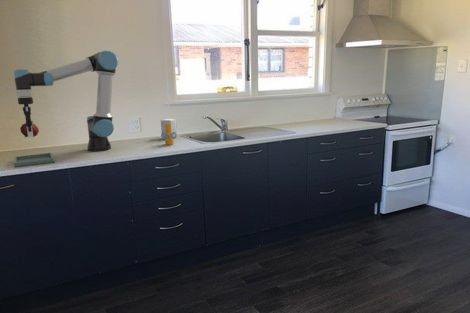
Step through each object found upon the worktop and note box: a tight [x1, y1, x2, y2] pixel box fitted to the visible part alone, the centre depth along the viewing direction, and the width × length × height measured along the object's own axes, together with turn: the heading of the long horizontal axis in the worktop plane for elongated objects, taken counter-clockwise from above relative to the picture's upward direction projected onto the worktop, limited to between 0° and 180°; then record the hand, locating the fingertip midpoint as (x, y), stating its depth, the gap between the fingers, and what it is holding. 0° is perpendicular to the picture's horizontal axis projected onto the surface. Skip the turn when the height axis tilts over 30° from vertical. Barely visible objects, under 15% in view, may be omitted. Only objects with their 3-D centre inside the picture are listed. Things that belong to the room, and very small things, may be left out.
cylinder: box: [160, 123, 178, 146], centre depth 263 cm, size 12×10×15 cm
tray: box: [13, 152, 55, 168], centre depth 219 cm, size 20×20×2 cm
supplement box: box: [160, 118, 178, 140], centre depth 288 cm, size 9×9×15 cm
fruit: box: [19, 120, 40, 138], centre depth 215 cm, size 9×10×10 cm
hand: (30, 135), depth 216 cm, fingers closed on fruit, 9 cm apart
